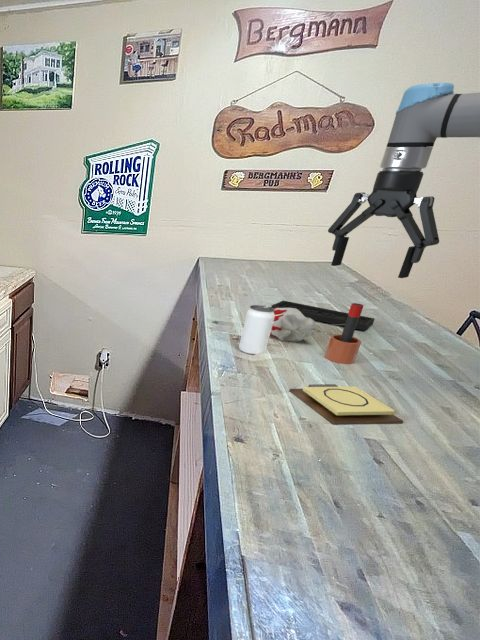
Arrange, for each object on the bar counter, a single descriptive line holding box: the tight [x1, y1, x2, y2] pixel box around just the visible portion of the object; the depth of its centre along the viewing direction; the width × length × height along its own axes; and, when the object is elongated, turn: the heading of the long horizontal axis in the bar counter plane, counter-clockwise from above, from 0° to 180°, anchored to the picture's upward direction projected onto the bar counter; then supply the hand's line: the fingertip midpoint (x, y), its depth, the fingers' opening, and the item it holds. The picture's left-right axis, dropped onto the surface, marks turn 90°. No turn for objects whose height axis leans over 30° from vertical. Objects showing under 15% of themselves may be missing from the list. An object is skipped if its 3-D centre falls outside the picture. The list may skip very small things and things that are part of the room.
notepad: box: [302, 386, 396, 415], centre depth 94 cm, size 11×12×1 cm
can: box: [238, 304, 275, 356], centre depth 120 cm, size 6×6×12 cm
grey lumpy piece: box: [270, 307, 317, 343], centre depth 131 cm, size 9×11×15 cm
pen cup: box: [324, 334, 362, 365], centre depth 116 cm, size 6×6×6 cm
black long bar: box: [270, 300, 375, 331], centre depth 146 cm, size 26×3×30 cm
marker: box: [340, 302, 365, 343], centre depth 114 cm, size 2×2×14 cm
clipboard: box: [289, 383, 404, 425], centre depth 95 cm, size 14×14×2 cm
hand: (367, 271), depth 104 cm, fingers open, 13 cm apart
